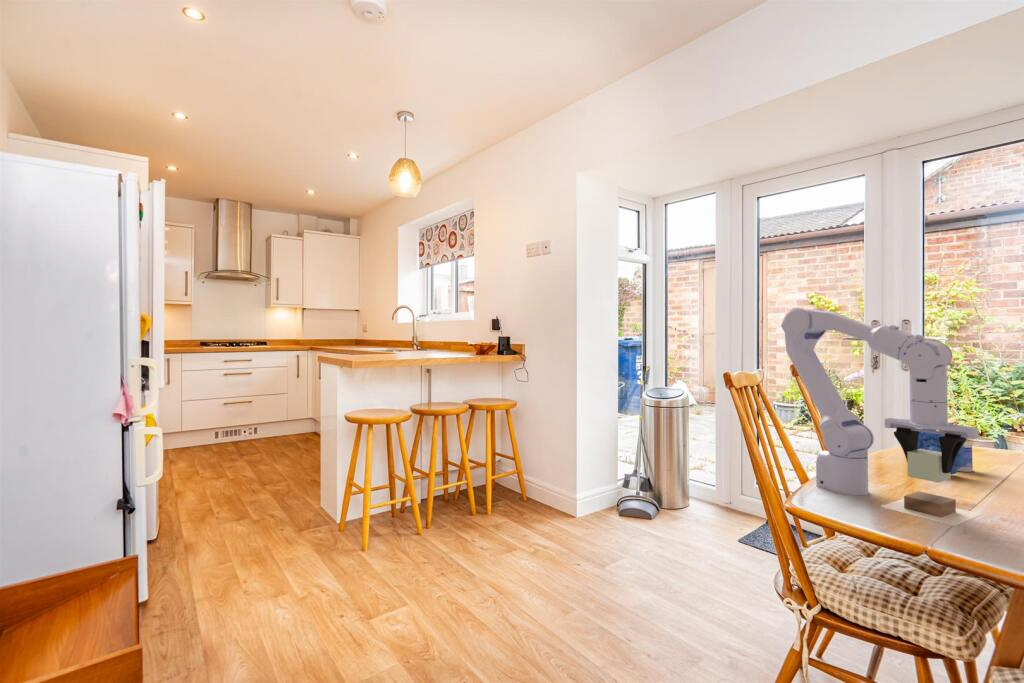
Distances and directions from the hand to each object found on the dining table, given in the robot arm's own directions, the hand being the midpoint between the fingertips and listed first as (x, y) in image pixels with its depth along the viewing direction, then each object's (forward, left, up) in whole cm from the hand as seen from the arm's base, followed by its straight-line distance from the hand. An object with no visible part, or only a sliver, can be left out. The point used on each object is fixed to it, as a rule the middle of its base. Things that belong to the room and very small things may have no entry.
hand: (929, 469), depth 97 cm
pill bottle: (-12, +46, -9) cm, 48 cm away
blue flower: (-13, +36, -9) cm, 39 cm away
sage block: (0, 0, -2) cm, 2 cm away
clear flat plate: (0, 0, -9) cm, 9 cm away
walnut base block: (0, 0, -8) cm, 8 cm away
